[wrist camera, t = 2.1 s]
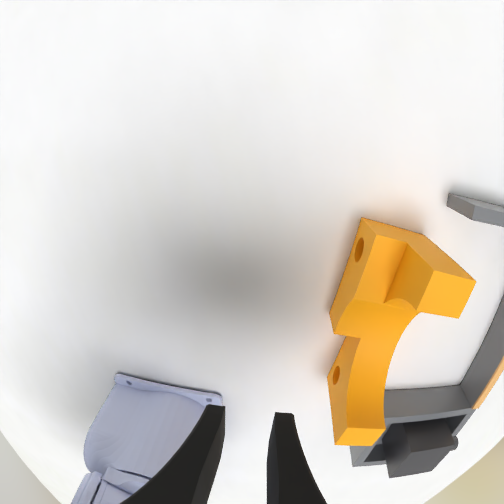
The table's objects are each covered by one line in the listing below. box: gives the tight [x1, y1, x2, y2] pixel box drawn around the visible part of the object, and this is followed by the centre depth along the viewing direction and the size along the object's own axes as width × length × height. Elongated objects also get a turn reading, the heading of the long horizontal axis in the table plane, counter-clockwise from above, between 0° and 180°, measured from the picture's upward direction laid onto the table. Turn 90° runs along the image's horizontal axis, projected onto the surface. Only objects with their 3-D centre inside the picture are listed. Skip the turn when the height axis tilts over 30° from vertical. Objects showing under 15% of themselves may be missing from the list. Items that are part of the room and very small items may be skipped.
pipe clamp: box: [327, 218, 476, 446], centre depth 16 cm, size 12×4×6 cm, turn 169°
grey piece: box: [350, 193, 504, 478], centre depth 17 cm, size 10×24×6 cm, turn 176°
